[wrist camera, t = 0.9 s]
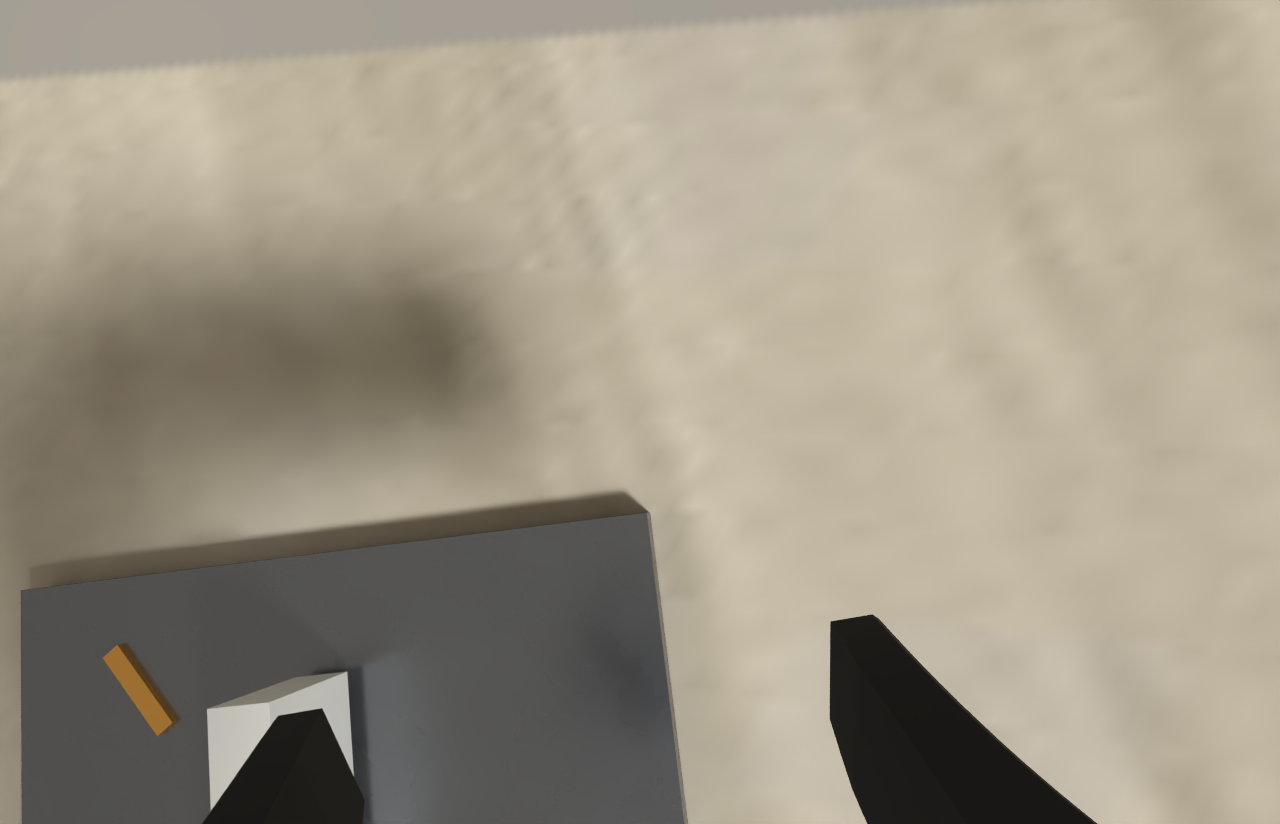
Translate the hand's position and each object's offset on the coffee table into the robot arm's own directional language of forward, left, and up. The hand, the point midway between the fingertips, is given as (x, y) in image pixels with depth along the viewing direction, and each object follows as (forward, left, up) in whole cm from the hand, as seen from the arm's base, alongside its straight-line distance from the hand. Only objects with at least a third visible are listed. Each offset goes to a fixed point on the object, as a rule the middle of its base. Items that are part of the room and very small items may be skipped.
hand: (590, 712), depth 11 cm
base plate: (-7, +10, -13) cm, 18 cm away
